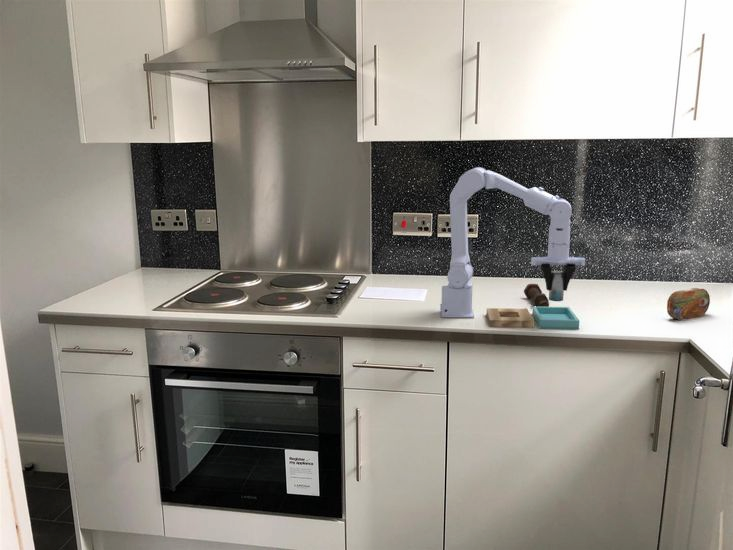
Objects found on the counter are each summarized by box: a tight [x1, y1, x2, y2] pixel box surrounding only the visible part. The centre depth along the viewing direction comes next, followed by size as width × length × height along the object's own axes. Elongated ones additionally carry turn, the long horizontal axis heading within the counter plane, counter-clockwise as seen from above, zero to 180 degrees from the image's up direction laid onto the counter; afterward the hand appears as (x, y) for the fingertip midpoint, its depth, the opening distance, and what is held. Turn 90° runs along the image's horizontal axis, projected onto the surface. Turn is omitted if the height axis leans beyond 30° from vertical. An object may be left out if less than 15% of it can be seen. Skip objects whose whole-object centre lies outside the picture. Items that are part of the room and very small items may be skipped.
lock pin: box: [548, 270, 565, 302], centre depth 178 cm, size 4×4×8 cm
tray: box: [531, 306, 580, 330], centre depth 180 cm, size 11×14×2 cm
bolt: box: [523, 283, 550, 307], centre depth 198 cm, size 6×5×15 cm
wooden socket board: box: [486, 307, 534, 329], centre depth 181 cm, size 12×12×2 cm
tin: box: [666, 287, 711, 321], centre depth 181 cm, size 15×3×8 cm, turn 114°
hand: (556, 289), depth 178 cm, fingers closed on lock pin, 4 cm apart
